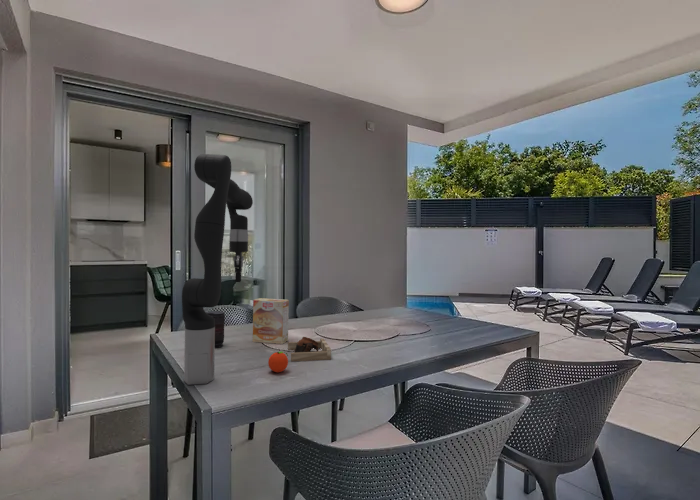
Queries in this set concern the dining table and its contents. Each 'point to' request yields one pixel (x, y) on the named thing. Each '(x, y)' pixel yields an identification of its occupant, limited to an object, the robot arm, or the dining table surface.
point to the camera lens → (218, 327)
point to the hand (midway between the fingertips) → (238, 281)
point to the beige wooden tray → (310, 356)
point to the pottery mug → (306, 345)
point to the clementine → (278, 361)
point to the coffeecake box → (270, 320)
